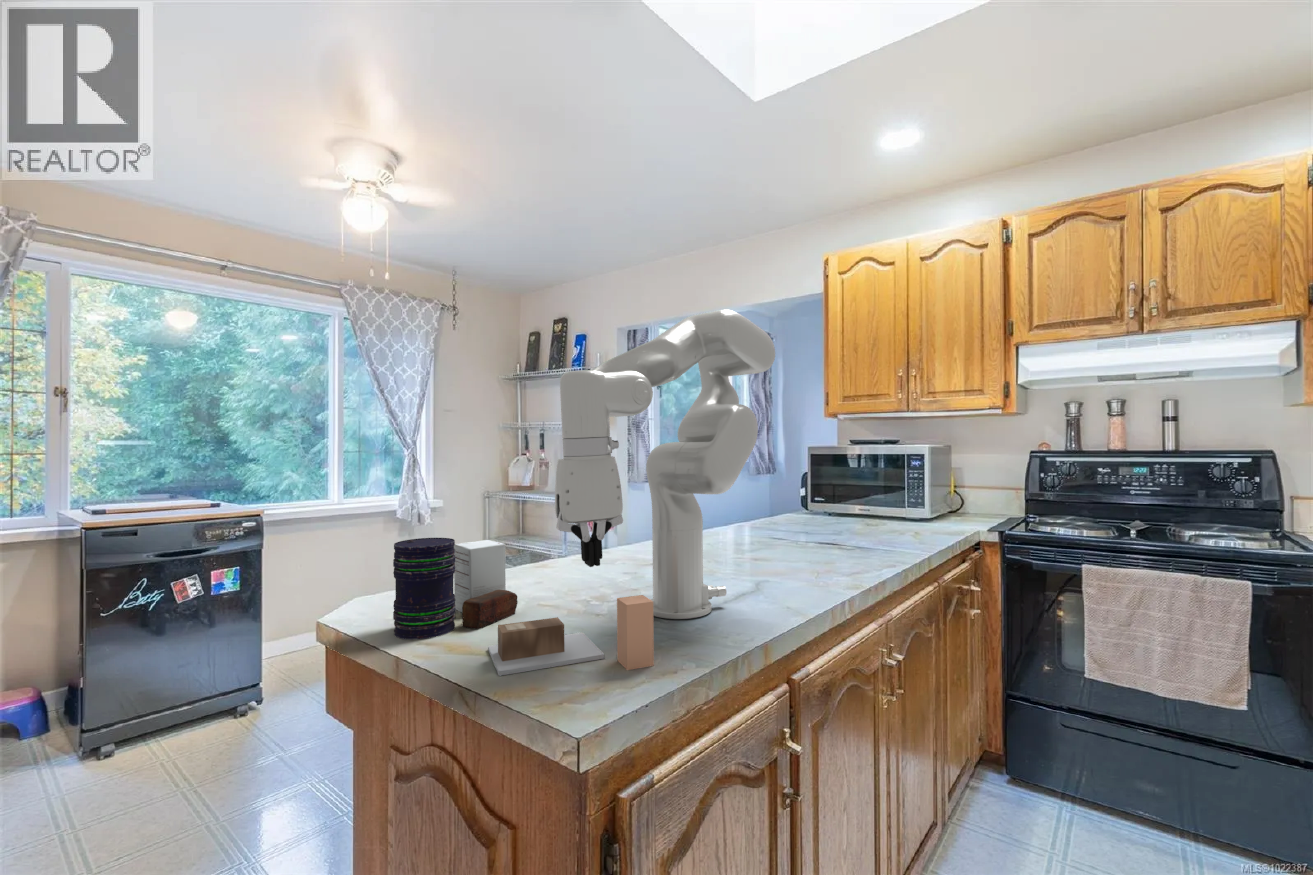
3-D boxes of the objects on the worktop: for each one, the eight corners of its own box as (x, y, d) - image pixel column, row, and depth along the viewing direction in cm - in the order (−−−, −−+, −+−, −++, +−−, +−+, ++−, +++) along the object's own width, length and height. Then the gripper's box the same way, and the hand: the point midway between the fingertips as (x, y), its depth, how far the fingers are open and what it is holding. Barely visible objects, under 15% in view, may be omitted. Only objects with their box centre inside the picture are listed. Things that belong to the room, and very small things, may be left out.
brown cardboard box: (557, 617, 88) (497, 624, 85) (564, 624, 85) (502, 632, 81) (557, 643, 88) (497, 652, 85) (564, 651, 85) (502, 661, 81)
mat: (582, 635, 93) (582, 632, 93) (604, 658, 83) (604, 654, 83) (488, 649, 87) (487, 645, 87) (498, 675, 77) (498, 671, 77)
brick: (480, 630, 97) (480, 603, 97) (461, 628, 99) (461, 600, 99) (518, 614, 107) (518, 588, 107) (500, 611, 108) (500, 587, 109)
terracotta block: (643, 656, 84) (642, 594, 84) (653, 665, 81) (653, 601, 81) (617, 660, 83) (616, 598, 83) (627, 670, 79) (626, 604, 79)
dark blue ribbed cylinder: (467, 623, 101) (466, 538, 101) (433, 641, 91) (433, 548, 92) (417, 619, 103) (417, 536, 103) (379, 637, 94) (379, 546, 94)
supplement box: (489, 602, 115) (488, 538, 115) (506, 609, 109) (506, 543, 109) (453, 609, 110) (452, 543, 110) (469, 617, 104) (469, 548, 104)
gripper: (622, 446, 97) (627, 553, 97) (534, 451, 91) (540, 566, 91) (639, 447, 90) (644, 562, 90) (546, 453, 84) (552, 577, 84)
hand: (592, 564), depth 91 cm, fingers closed
